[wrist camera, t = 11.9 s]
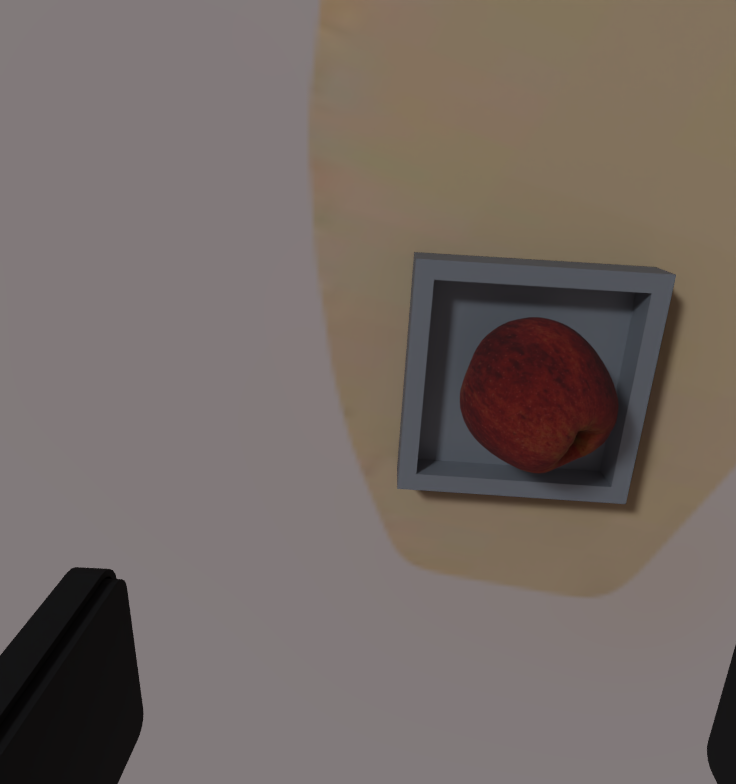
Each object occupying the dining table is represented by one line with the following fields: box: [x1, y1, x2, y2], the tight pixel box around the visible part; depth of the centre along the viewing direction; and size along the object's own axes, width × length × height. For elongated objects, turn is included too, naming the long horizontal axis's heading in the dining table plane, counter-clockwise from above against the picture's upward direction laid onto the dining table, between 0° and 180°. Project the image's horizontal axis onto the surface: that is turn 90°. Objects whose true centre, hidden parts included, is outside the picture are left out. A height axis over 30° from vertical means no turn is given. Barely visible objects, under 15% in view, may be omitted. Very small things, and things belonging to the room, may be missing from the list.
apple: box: [460, 317, 618, 473], centre depth 32 cm, size 7×8×8 cm
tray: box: [397, 252, 676, 504], centre depth 35 cm, size 13×13×3 cm
